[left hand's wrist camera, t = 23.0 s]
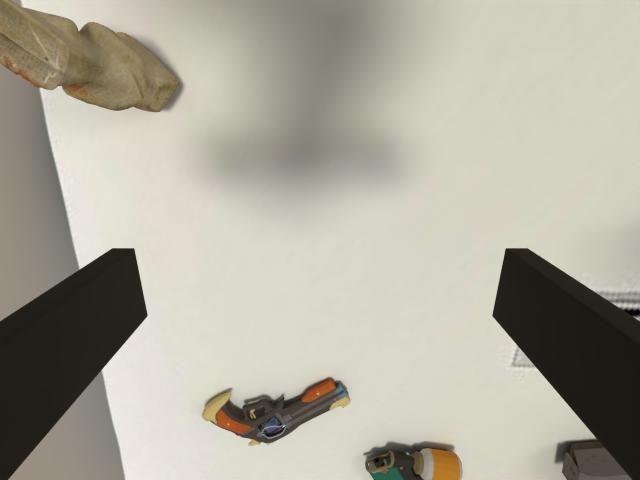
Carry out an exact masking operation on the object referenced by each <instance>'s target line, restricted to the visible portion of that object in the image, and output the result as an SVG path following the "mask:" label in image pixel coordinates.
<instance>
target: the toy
mask: <svg viewBox="0 0 640 480" xmlns="http://www.w3.org/2000/svg"><path fill="white" fill-rule="evenodd" d="M562 473H563V474H564V476H565V477H566V479H567V480H632V479H631V478H630V477H629V476H628V474H627V473H626V472H625V471H624V470H623V468H622V467H621V466H620V465H619V464H618V463H617V461H616V460H615V459H614V458H613V457H612V456H611V454H610V453H609V452H608V451H607V450H606V449H605V447H604V446H603V445H602V444H601V443H600V441H593V442H581V443H572V445H571V448H570V453H565V459H564V464H563V469H562Z"/></svg>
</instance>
